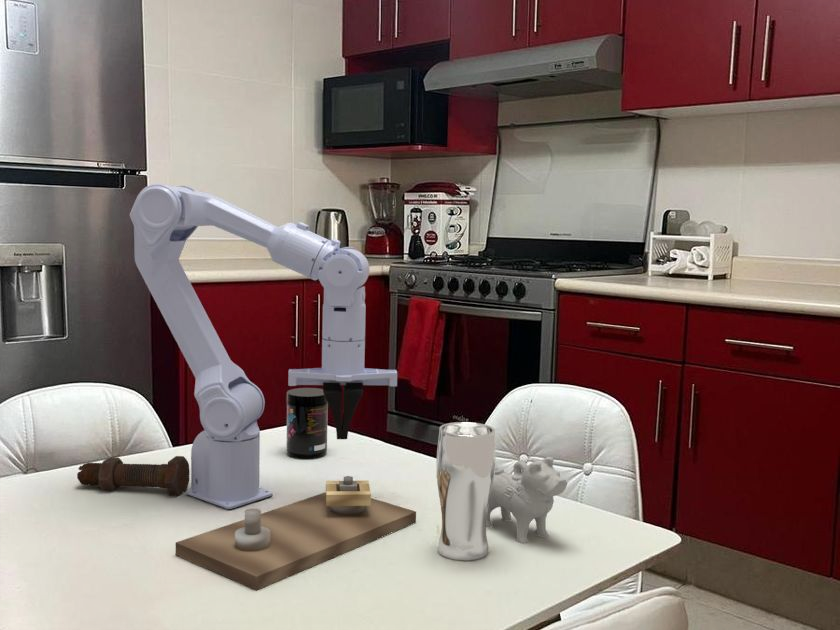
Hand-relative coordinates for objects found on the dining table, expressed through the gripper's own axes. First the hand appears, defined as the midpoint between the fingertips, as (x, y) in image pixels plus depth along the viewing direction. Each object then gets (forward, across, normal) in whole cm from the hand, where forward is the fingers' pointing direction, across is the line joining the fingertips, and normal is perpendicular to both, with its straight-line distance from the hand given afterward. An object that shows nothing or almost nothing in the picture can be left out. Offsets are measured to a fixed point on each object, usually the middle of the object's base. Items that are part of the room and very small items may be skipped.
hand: (341, 437), depth 118 cm
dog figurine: (+10, +23, -11) cm, 27 cm away
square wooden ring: (+6, +1, -6) cm, 9 cm away
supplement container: (+10, -5, +25) cm, 27 cm away
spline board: (+9, -5, -12) cm, 16 cm away
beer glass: (+10, +14, -17) cm, 24 cm away
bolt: (+10, -29, +8) cm, 32 cm away
